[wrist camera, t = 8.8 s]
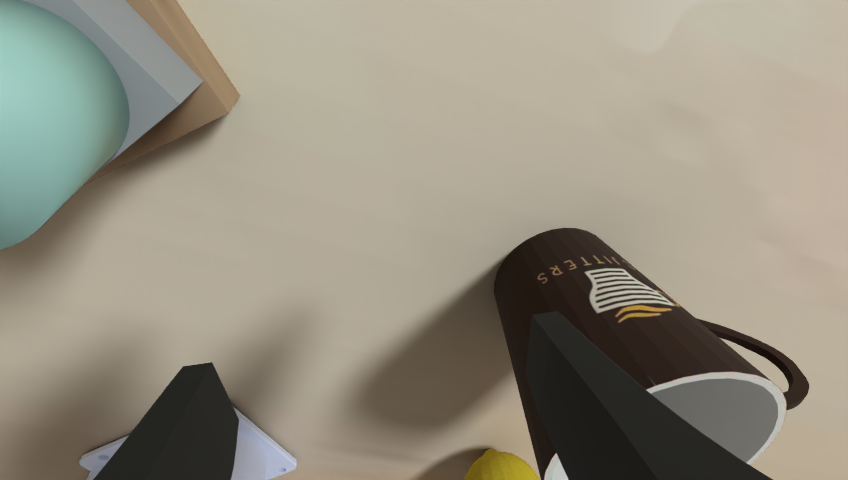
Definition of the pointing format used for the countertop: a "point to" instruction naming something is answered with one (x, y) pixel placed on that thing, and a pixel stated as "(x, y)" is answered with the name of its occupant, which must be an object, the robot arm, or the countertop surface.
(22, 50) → the teal cylinder
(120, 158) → the walnut block
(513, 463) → the lemon
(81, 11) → the grey square slab
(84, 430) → the countertop surface
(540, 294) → the coffee mug
